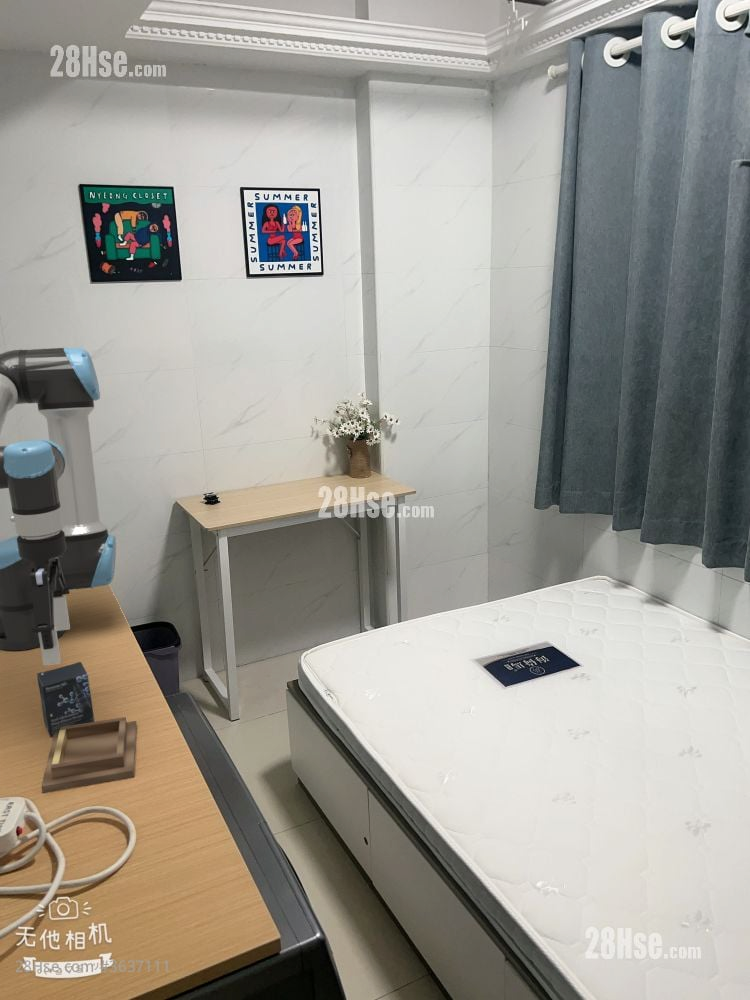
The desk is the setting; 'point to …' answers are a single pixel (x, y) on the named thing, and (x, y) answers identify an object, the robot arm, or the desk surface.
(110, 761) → the socket
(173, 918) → the desk surface
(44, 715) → the box
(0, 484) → the robot arm
